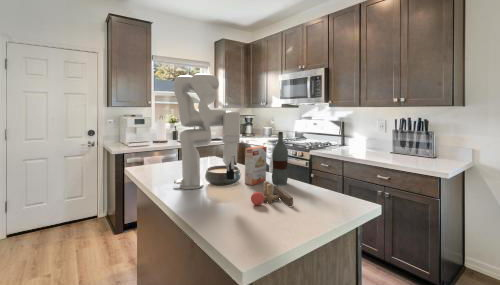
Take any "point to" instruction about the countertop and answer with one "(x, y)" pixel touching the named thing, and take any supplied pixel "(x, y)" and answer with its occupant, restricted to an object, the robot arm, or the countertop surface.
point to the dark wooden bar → (283, 195)
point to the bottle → (280, 162)
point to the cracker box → (255, 165)
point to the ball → (257, 198)
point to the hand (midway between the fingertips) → (230, 179)
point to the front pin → (272, 197)
